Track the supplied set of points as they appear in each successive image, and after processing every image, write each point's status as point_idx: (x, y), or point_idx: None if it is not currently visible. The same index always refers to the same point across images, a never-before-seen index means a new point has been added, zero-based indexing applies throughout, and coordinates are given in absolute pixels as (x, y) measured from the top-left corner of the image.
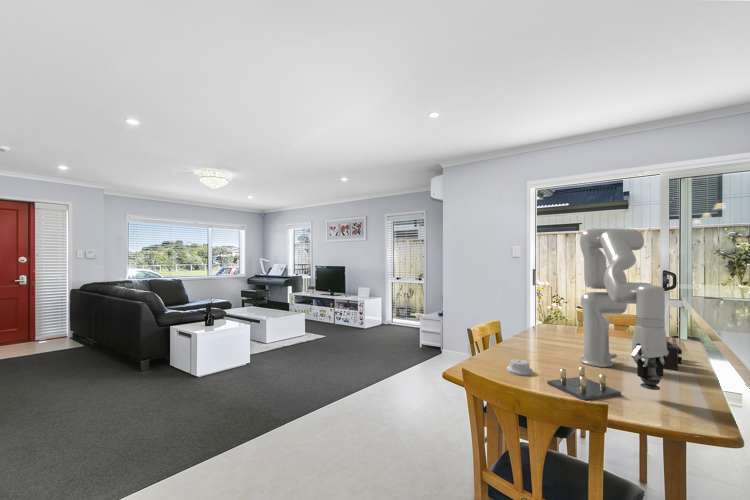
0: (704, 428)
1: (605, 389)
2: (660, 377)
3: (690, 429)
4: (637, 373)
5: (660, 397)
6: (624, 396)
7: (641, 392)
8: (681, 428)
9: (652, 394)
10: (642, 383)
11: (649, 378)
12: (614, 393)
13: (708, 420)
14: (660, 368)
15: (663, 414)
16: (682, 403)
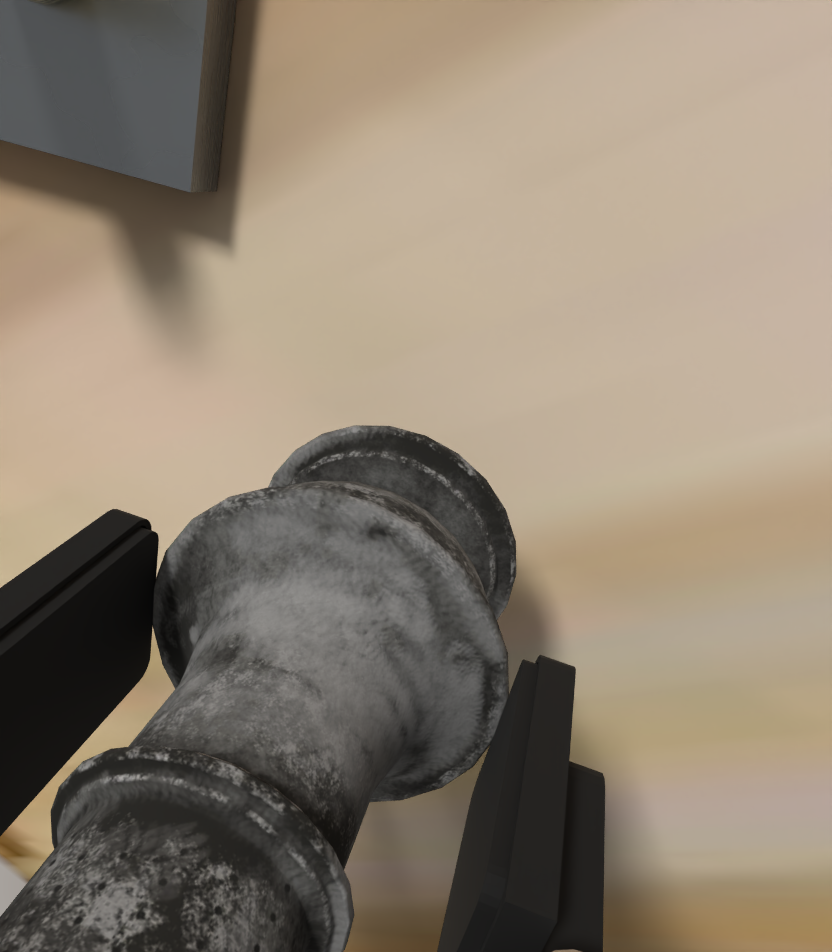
0: None
1: (42, 2)
2: (396, 793)
3: (50, 818)
4: (88, 528)
5: (618, 524)
6: (228, 238)
7: (619, 299)
8: None
9: (662, 425)
10: (352, 462)
11: (175, 681)
12: (77, 160)
13: None
14: (444, 943)
15: None
16: (608, 716)
